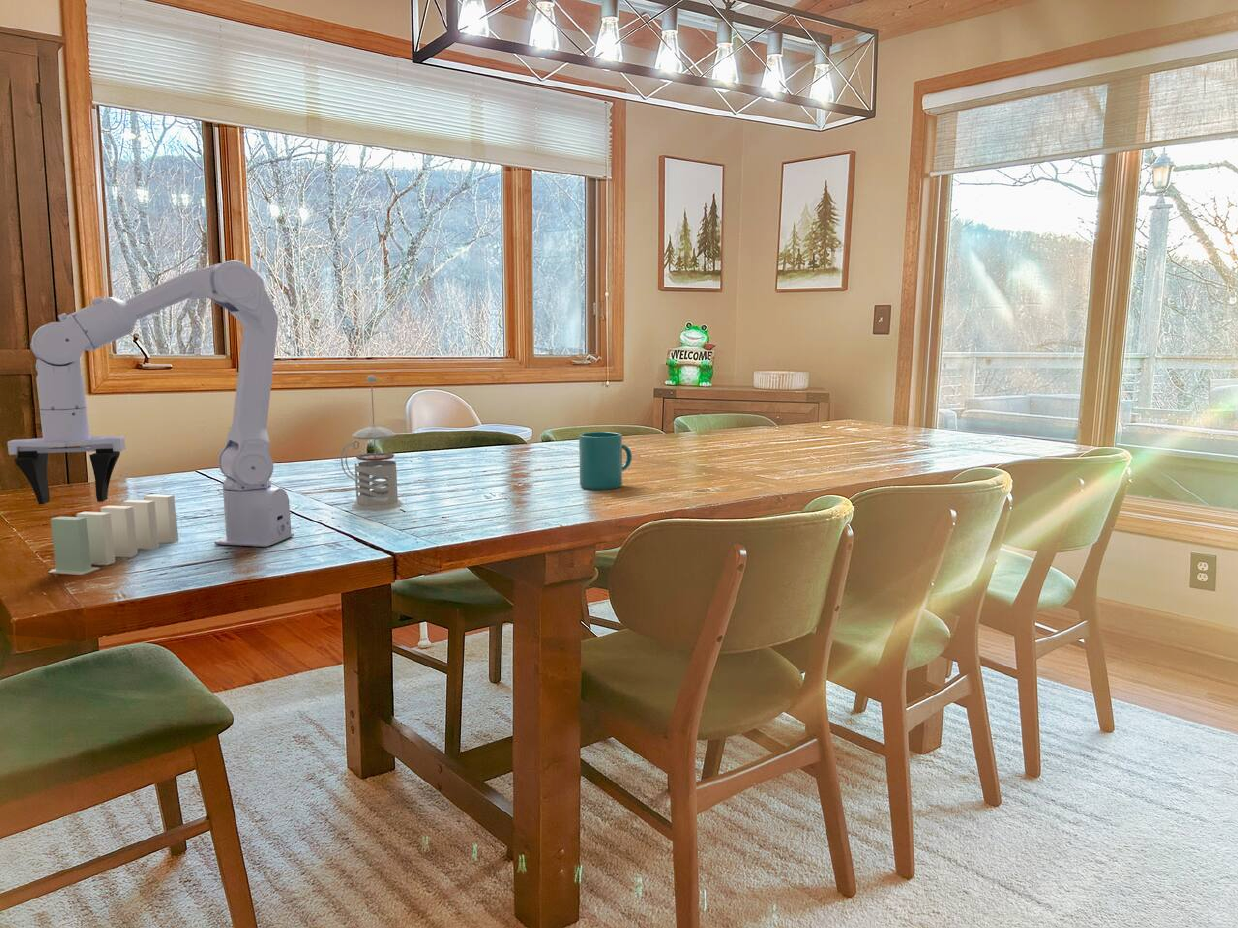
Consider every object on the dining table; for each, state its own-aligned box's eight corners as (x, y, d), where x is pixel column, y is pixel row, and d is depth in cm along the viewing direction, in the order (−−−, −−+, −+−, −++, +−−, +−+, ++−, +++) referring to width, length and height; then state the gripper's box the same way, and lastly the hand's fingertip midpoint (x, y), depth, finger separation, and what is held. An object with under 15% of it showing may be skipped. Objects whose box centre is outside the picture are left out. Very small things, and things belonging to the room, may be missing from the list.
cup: (641, 486, 190) (641, 434, 188) (592, 492, 184) (591, 438, 182) (620, 480, 198) (620, 430, 196) (572, 485, 192) (571, 433, 190)
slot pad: (99, 568, 128) (99, 567, 128) (81, 575, 125) (81, 573, 125) (66, 566, 129) (66, 565, 129) (48, 572, 126) (48, 571, 126)
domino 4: (134, 546, 141) (130, 499, 140) (158, 547, 140) (154, 500, 139) (126, 548, 140) (122, 501, 138) (151, 549, 139) (147, 502, 138)
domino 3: (112, 553, 137) (108, 505, 136) (137, 554, 136) (133, 506, 135) (105, 555, 135) (100, 507, 134) (129, 557, 134) (125, 508, 133)
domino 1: (65, 567, 128) (59, 516, 127) (91, 568, 127) (86, 517, 126) (56, 570, 126) (50, 518, 125) (82, 571, 126) (77, 520, 124)
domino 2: (90, 560, 132) (85, 511, 131) (115, 562, 132) (110, 512, 130) (81, 563, 131) (76, 513, 130) (107, 565, 130) (102, 514, 129)
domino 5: (154, 539, 145) (150, 494, 144) (178, 540, 145) (174, 495, 143) (147, 541, 144) (143, 496, 143) (171, 542, 143) (167, 497, 142)
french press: (389, 511, 166) (383, 377, 162) (332, 509, 168) (325, 376, 164) (412, 501, 176) (406, 374, 172) (357, 499, 178) (351, 373, 174)
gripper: (-7, 412, 121) (4, 509, 123) (109, 409, 124) (118, 504, 126) (16, 407, 128) (27, 500, 130) (126, 405, 131) (134, 495, 133)
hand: (73, 501), depth 129 cm, fingers open, 7 cm apart
